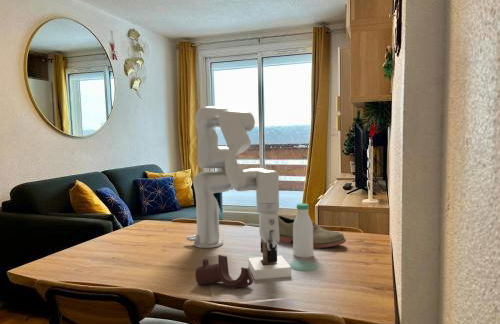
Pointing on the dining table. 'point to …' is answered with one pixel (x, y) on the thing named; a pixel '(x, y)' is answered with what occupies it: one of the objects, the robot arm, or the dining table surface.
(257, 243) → the dining table surface
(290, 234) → the oxford shoe
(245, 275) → the bracket
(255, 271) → the pocket block
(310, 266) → the felt pad
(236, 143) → the robot arm
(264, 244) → the walnut dowel
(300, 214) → the milk bottle
